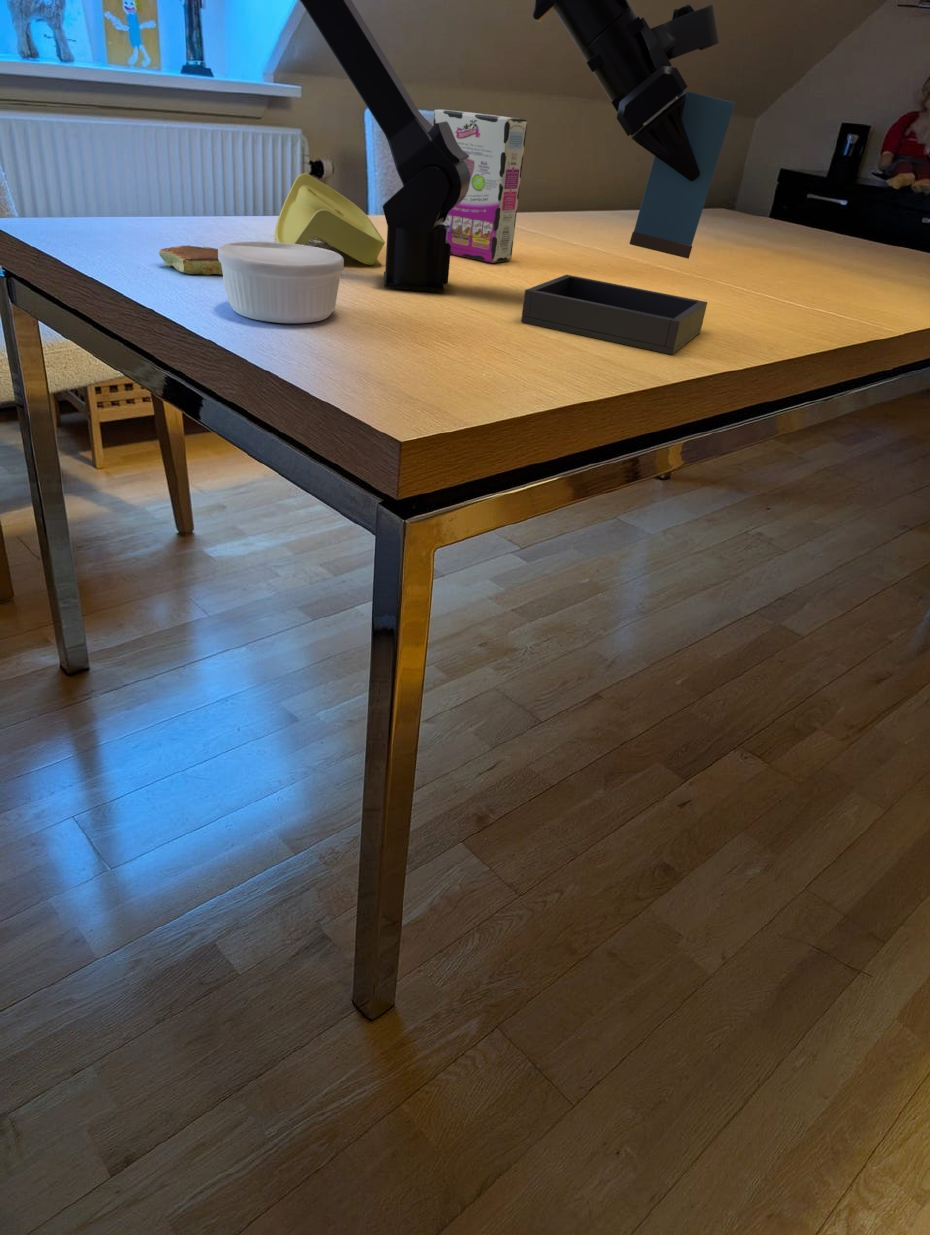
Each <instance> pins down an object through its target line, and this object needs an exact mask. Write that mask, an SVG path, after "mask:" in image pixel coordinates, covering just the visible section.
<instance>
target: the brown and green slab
mask: <svg viewBox="0 0 930 1235" xmlns="http://www.w3.org/2000/svg"><path fill="white" fill-rule="evenodd" d="M218 249H219V248H215V247H210V246H194V245H179V246H171V247H165V248H161V249H160V250H159V251H158V255H159V257H160V258H161V259H162V261H163V262H164V265H165V266H167V267H171V266H173V267H174V268H175V269H176V271H179V272H181V273H185V274H186V275H205V276H206V275H222V276H223V272H222V266H221V263H220V261H219V259H218Z"/></svg>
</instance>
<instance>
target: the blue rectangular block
mask: <svg viewBox="0 0 930 1235" xmlns="http://www.w3.org/2000/svg"><path fill="white" fill-rule="evenodd" d="M684 92H687V99H686V102H685V106H684V111H683V115H682V122H683V125H684V127H685V130H686V133H687V136H688V139H689V142H690V145H691V148H692V150H693V153H694V156H695V159H696V162H697V165H698V168H699V170H700V176H699V177H697V178H696V179H695V180H694V181H689V180H688V179H687V178H685V177H684V176H682V175H681V174H680V173H678V172H677V171H675V170H674V169H673V168H671V167H670V166H669V165H667V164H666V163H664V162H663V161H661V160H660V159H659V158H657V157H656V156H655V155H654V156H653V161H652V163H651V167H650V172H649V175H648V179H647V181H646V186H645V190H644V193H643V197H642V201H641V204H640V208H639V211H638V214H637V218H636V222H635V226H634V230H633V231H632V233H631V236H630V239H629V243H628V244H629V245H631V246H634V247H639V248H643V249H647V250H651V251H655V252H659V253H663V254H667V255H672V256H676V257H680V258H684V259H688V260H689V259H690V256H691V252H692V250H693V242H694V239H695V237H696V232H697V230H698V226H699V223H700V220H701V217H702V213H703V211H704V207H705V203H706V200H707V197H708V195H709V194H708V193H709V191H710V187H711V183H712V181H713V177H714V175H715V170H716V167H717V165H718V162H719V158H720V155H721V151H722V148H723V144H724V142H725V138H726V135H727V131H728V129H729V125H730V122H731V118H732V115H733V112H734V108H735V106H736V102H734V101H731V100H725V99H721V98H716V97H712V96H707V95H704V94H698V93H694V92H691V91H686V90H684V91H683V92H681V93H680V94H679V95H678V96H677V97H679V96H680V95H682V94H683V93H684Z"/></svg>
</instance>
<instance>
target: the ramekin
mask: <svg viewBox="0 0 930 1235" xmlns="http://www.w3.org/2000/svg"><path fill="white" fill-rule="evenodd" d="M217 249H218V259H219V261H220V263H221V266H222V272H223V275H222V277H223V282H224V287H225V288H224V289H225V294H226V296H227V297H226V298H227V301H228V305H229V306H230V307H231V308H232V309H233V311H234V312H235V313H236V314H238V315H240V316H242V317H245V318H248V319H251V320H252V319H253V320H256V321H261V322H269V323H277V324H308V323H316V322H320V321H324V320H326V319H327V318H329V317H330V316H331V314H332V313H333V312H334V311H335V308H336V305H337V299H338V298H337V297H338V293H339V286H340V279H341V273H342V271H343V270H344V268H345V261H344V257H343V255H341V254H340V253H338V252H336V251H333V250H330V249H326V248H324V247H323V248H322V247H317V246H312V245H307V244H306V245H299V244H290V243H279V242H276V241H252V240H251V241H236V242H228V243H225V244H223V245H220V246H219V247H218V248H217Z"/></svg>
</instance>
